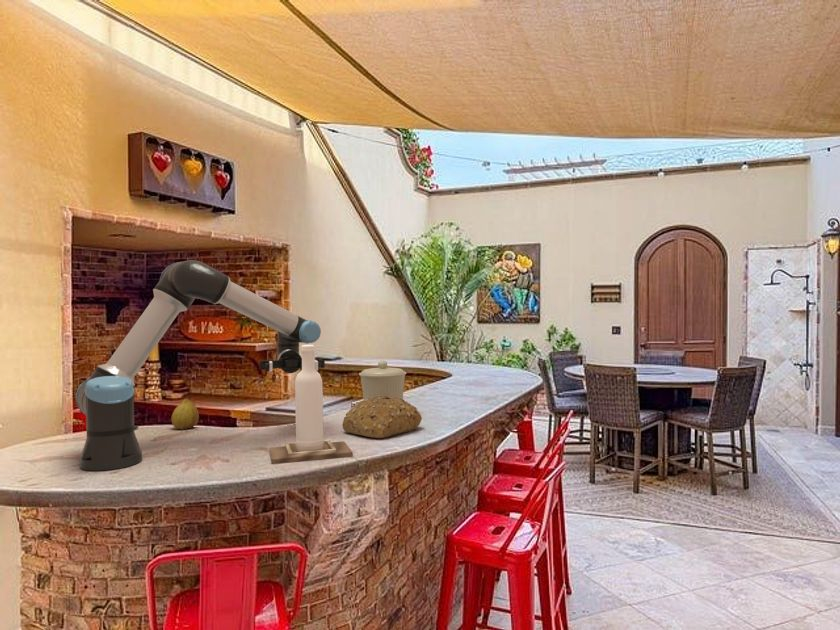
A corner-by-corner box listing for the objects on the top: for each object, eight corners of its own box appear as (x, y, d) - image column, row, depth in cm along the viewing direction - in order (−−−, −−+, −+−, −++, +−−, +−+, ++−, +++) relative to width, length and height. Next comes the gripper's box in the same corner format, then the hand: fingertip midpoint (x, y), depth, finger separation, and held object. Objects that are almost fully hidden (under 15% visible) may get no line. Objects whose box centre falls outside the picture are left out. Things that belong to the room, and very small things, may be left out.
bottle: (290, 450, 167) (287, 345, 166) (310, 445, 173) (308, 343, 173) (309, 454, 162) (307, 346, 162) (329, 448, 168) (327, 344, 168)
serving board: (271, 463, 158) (271, 455, 158) (269, 451, 171) (269, 444, 171) (352, 456, 164) (352, 448, 164) (344, 445, 177) (344, 438, 177)
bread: (380, 422, 213) (380, 389, 213) (428, 428, 200) (427, 393, 200) (332, 434, 193) (331, 398, 193) (381, 442, 181) (380, 404, 180)
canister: (362, 411, 233) (361, 358, 233) (407, 411, 233) (406, 358, 233) (357, 420, 215) (356, 363, 215) (406, 420, 215) (405, 362, 214)
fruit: (166, 430, 204) (165, 396, 204) (182, 425, 213) (182, 392, 213) (188, 431, 202) (187, 396, 202) (204, 425, 211) (203, 392, 211)
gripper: (327, 371, 202) (335, 377, 181) (251, 373, 195) (251, 380, 174) (327, 349, 202) (335, 353, 181) (251, 350, 195) (251, 355, 174)
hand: (294, 366), depth 178 cm, fingers open, 13 cm apart
